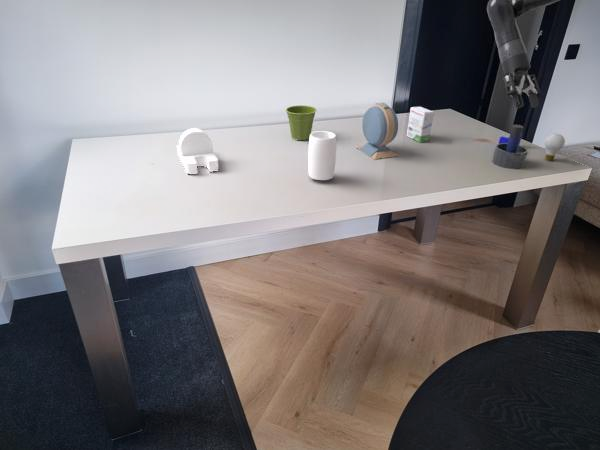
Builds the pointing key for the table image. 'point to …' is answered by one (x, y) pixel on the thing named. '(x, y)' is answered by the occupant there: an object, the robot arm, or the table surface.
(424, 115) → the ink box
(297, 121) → the plant pot
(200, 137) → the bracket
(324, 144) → the cup
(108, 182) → the table surface
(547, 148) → the light bulb
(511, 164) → the pen pot
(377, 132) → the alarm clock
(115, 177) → the table surface
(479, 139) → the coaster
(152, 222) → the table surface
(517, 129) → the marker
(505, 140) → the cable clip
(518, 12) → the robot arm
